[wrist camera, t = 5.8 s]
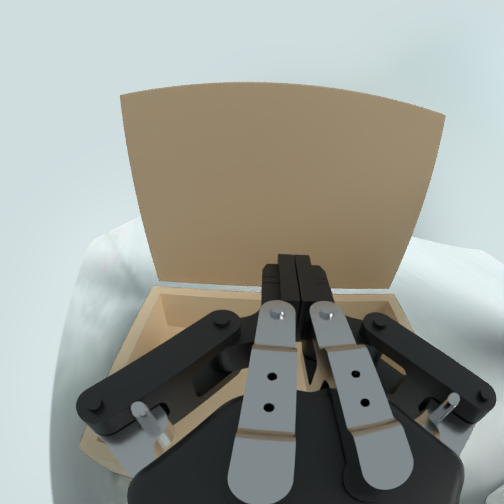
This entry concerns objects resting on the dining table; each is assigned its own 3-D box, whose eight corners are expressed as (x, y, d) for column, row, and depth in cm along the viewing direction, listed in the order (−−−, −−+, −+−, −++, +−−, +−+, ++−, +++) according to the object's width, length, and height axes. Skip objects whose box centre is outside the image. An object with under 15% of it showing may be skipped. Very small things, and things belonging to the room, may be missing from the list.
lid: (445, 115, 13) (440, 113, 13) (119, 95, 13) (124, 94, 14) (388, 288, 23) (387, 283, 23) (159, 280, 24) (160, 276, 24)
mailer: (425, 472, 11) (460, 450, 9) (108, 470, 12) (77, 448, 9) (380, 328, 25) (393, 293, 23) (162, 321, 26) (153, 285, 23)
